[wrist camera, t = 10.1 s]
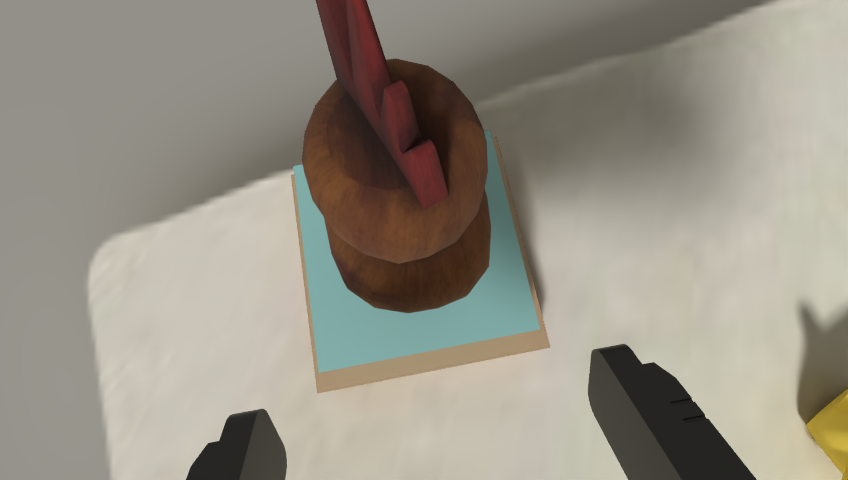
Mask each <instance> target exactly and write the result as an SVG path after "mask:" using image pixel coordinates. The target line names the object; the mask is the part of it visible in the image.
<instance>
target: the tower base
mask: <svg viewBox="0 0 848 480" xmlns="http://www.w3.org/2000/svg"><path fill="white" fill-rule="evenodd" d="M484 133H485V137H486V141H487V161H488V174H487V180H486V184H485V191H486V194H487V198H488V206H489V214H490V222H491V240H490V260H489V268H488V269H487V270H486V272H485V273H484V274H483V276H482V277H481V278H480V280H479V281H478V282H477V284H476V285H475V286H474V288H473V289H472V290H471V292H470V293H469V294H468V295H467V296H466V297H464V298H462V299H459V300H457V301H454V302H452V303H450V304H447V305H445V306H443V307H440V308H437V309H431V310H426V311H420V312H414V313H402V312H396V311H390V310H384V309H378V308H374V307H372V306H371V305H370V304H368V303H367V302H365V301H364V300H363V299H361V298H360V297H358V296H357V295H355V294H354V293H353V292H351V291H350V290H348V289H347V287H346V285H345V284H344V282H343V279H342V277H341V275H340V272H339V270H338V268H337V266H336V263H335V261H334V259H333V256H332V254H331V249H330V245H329V240H328V235H327V230H326V225H325V220H324V217H323V215H322V214H321V212H320V211H319V209H318V208H317V206H316V205H315V203H314V202H313V200H312V197H311V194H310V190H309V187H308V184H307V180H306V177H305V174H304V169H303V165H297V166H294V167H293V168H294V175H291V179H292V187H293V196H294V204H295V212H296V221H297V229H298V237H299V245H300V254H301V262H302V270H303V278H304V287H305V295H306V303H307V312H308V320H309V328H310V336H311V345H312V353H313V361H314V369H315V378H316V386H317V393H322V392H327V391H332V390H337V389H343V388H348V387H353V386H358V385H363V384H368V383H373V382H378V381H383V380H388V379H393V378H398V377H403V376H409V375H414V374H419V373H424V372H429V371H434V370H439V369H444V368H449V367H454V366H459V365H464V364H469V363H474V362H480V361H485V360H490V359H495V358H500V357H505V356H510V355H515V354H520V353H525V352H530V351H535V350H540V349H545V348H550V345H549V341H548V337H547V333H546V329H545V325H544V321H543V317H542V314H541V310H540V306H539V302H538V298H537V294H536V290H535V286H534V282H533V278H532V274H531V270H530V266H529V263H528V259H527V255H526V251H525V247H524V243H523V239H522V235H521V231H520V227H519V223H518V219H517V215H516V212H515V208H514V204H513V200H512V196H511V192H510V188H509V184H508V180H507V176H506V172H505V168H504V164H503V161H502V157H501V153H500V149H499V145H498V141H497V137H494V138H492V136H491V132H490V130H487V131H484Z"/></svg>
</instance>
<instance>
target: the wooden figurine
mask: <svg viewBox="0 0 848 480" xmlns="http://www.w3.org/2000/svg"><path fill="white" fill-rule="evenodd" d="M316 3H317V7H318V11H319V15H320V18H321V22H322V26H323V30H324V34H325V37H326V41H327V45H328V48H329V52H330V56H331V59H332V62H333V66H334V70H335V73H336V77H337V80H336V81H335V82H334V83H333V84H332V86H331V87H330V88H329V89H328V90H327V92H326V93H325V94H324V95H323V97H322V98H321V99H320V100H319V101H318V103H317V104H316V105H315V108H314V110H313V113H312V115H311V118H310V120H309V123H308V125H307V128H306V130H305V136H304V146H303V156H302V163H303V169H304V174H305V177H306V180H307V184H308V187H309V190H310V194H311V197H312V200H313V202H314V203H315V205H316V206H317V208H318V209H319V211H320V212H321V214H322V215H323V217H324V220H325V225H326V230H327V235H328V240H329V245H330V249H331V254H332V256H333V259H334V261H335V263H336V266H337V268H338V270H339V272H340V275H341V277H342V279H343V282H344V284H345V285H346V287H347V289H348V290H350V291H351V292H353V293H354V294H355V295H357V296H358V297H360V298H361V299H363V300H364V301H365V302H367V303H368V304H370V305H371V306H372V307H374V308H378V309H384V310H390V311H396V312H402V313H414V312H420V311H426V310H431V309H437V308H440V307H443V306H445V305H447V304H450V303H452V302H454V301H457V300H459V299H462V298H464V297H466V296H467V295H468V294H469V293H470V292H471V290H472V289H473V288H474V286H475V285H476V284H477V282H478V281H479V280H480V278H481V277H482V276H483V274H484V273H485V272H486V270H487V269H488V268H489V260H490V240H491V222H490V214H489V206H488V198H487V194H486V191H485V184H486V180H487V174H488V161H487V141H486V137H485V133H484V130H483V127H482V125H481V123H480V121H479V119H478V116H477V114H476V112H475V110H474V108H473V105H472V104H471V102H470V101H469V100H468V99H467V98H466V96H465V95H464V94H463V93H462V92H461V91H460V89H459V88H458V87H457V86H456V85H455V83H454V82H453V81H451V80H449V79H448V78H446V77H445V76H443V75H442V74H440V73H438V72H437V71H435V70H434V69H432V68H430V67H429V66H426V65H422V64H417V63H413V62H408V61H404V60H399V59H389V60H386V59H385V56H384V53H383V50H382V47H381V44H380V41H379V38H378V35H377V32H376V29H375V25H374V22H373V20H372V16H371V13H370V10H369V7H368V4H367V1H366V0H316Z"/></svg>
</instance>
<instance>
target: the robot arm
mask: <svg viewBox="0 0 848 480" xmlns="http://www.w3.org/2000/svg"><path fill="white" fill-rule="evenodd" d="M588 396H589V401H590V405H591V408H592V411H593V413H594V416H595V418H596V420H597V421H598V423H599V425H600V427H601V429H602V431H603V433H604V435H605V437H606V438H607V440H608V442H609V444H610V446H611V448H612V450H613V452H614V454H615V455H616V457H617V459H618V461H619V463H620V465H621V467H622V469H623V470H624V472H625V474H626V476H627V478H628V480H756V478H755V477H754V476H753V475H752V473H751V472H750V471H749V470H748V468H747V467H746V466H745V465H744V463H743V462H742V461H741V459H740V458H739V457H738V456H737V454H736V453H735V452H734V451H733V449H732V448H731V447H730V446H729V444H728V443H727V442H726V441H725V439H724V438H723V437H722V436H721V434H720V433H719V432H718V430H717V429H716V428H715V427H714V425H713V424H712V423H711V422H710V420H709V419H706V417H705V414H704V413H703V412H702V410H701V409H700V408H699V407H698V405H697V404H696V403H695V402H693V401H692V398H691V396H690V395H689V394H688V393H687V391H686V390H685V389H684V388H683V386H682V385H681V384H680V383H679V381H678V380H677V379H676V378H675V377H674V376H672V375H671V374H670V373H668V372H667V371H665V370H664V369H662V368H661V367H660V366H658V365H657V364H655V363H654V362H653V363H647V364H642V363H641V362H640V361H639V359H638V358H637V357H636V355H635V354H634V352H633V351H632V350H631V349H630V348H629V347H628V346H627V345H625V344H621V345H615V346H610V347H604V348H599V349H594V350H593V351H592V354H591V363H590V374H589V384H588ZM286 468H287V459H286V451H285V447H284V445H283V443H282V441H281V439H280V437H279V435H278V433H277V431H276V429H275V427H274V425H273V423H272V421H271V419H270V417H269V415H268V413H267V411H266V410H264V409H259V410H253V411H248V412H242V413H237V414H232V415H230V416H229V417H228V419H227V420H226V423H225V426H224V429H223V432H222V435H221V437H220V440H219V441H217V442H212V443H208V444H207V445H206V447H205V448H204V449H203V451H202V452H201V454H200V455H199V456H198V458H197V459H196V460H195V462H194V463H193V464H192V466H191V468H190V470H189V473H188V476H187V478H186V480H285V476H286Z"/></svg>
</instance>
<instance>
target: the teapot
mask: <svg viewBox="0 0 848 480" xmlns="http://www.w3.org/2000/svg"><path fill="white" fill-rule="evenodd" d="M806 427H807V429H808V430H809V432H810V433H811V435H812V437H813V438H814V440H815V441H816V442H817V443H818V444H819V445H820V447H821V448H822V449H823V451H824V452H825V453H826V454H827V456H828V457H829V458H830V459H831V461H832V462H833V463H834V464H835V466H836V467H837V468H838V469H839V470H840V471H841V473H842V474H843V477H842V480H848V388H847V389H846V390H845V391H844V392H842V393H841V394H840V395H839V396H838V397H836V398H835V399H834V400H833V401H832V402H830V403H829V404H828V405H827V406H826V407H825V408H823V409H822V410H821V411H820V412H819V413H818V414H817V415H816V416H814V417H813V418H812V419H811V420H810V421H809V422H808V423H807V425H806Z"/></svg>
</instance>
